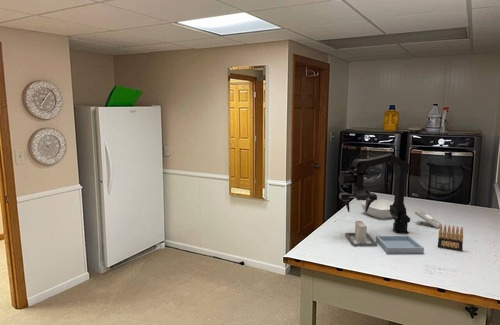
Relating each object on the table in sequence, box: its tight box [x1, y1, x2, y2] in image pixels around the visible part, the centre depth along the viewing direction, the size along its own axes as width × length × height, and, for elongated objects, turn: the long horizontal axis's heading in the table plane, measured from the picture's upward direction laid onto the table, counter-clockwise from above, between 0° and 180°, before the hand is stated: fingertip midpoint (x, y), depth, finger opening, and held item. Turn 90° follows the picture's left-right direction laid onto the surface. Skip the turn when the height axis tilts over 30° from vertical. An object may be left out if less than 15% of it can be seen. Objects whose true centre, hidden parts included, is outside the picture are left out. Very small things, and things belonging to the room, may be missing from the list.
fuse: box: [354, 220, 368, 243], centre depth 193 cm, size 3×9×9 cm, turn 179°
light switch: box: [414, 208, 442, 229], centre depth 219 cm, size 8×6×14 cm
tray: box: [375, 235, 425, 255], centre depth 184 cm, size 17×17×3 cm
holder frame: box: [344, 232, 378, 247], centre depth 194 cm, size 12×17×1 cm
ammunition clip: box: [437, 223, 464, 252], centre depth 181 cm, size 11×2×12 cm, turn 58°
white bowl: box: [361, 199, 394, 220], centre depth 239 cm, size 20×20×8 cm
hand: (357, 212), depth 199 cm, fingers open, 9 cm apart
